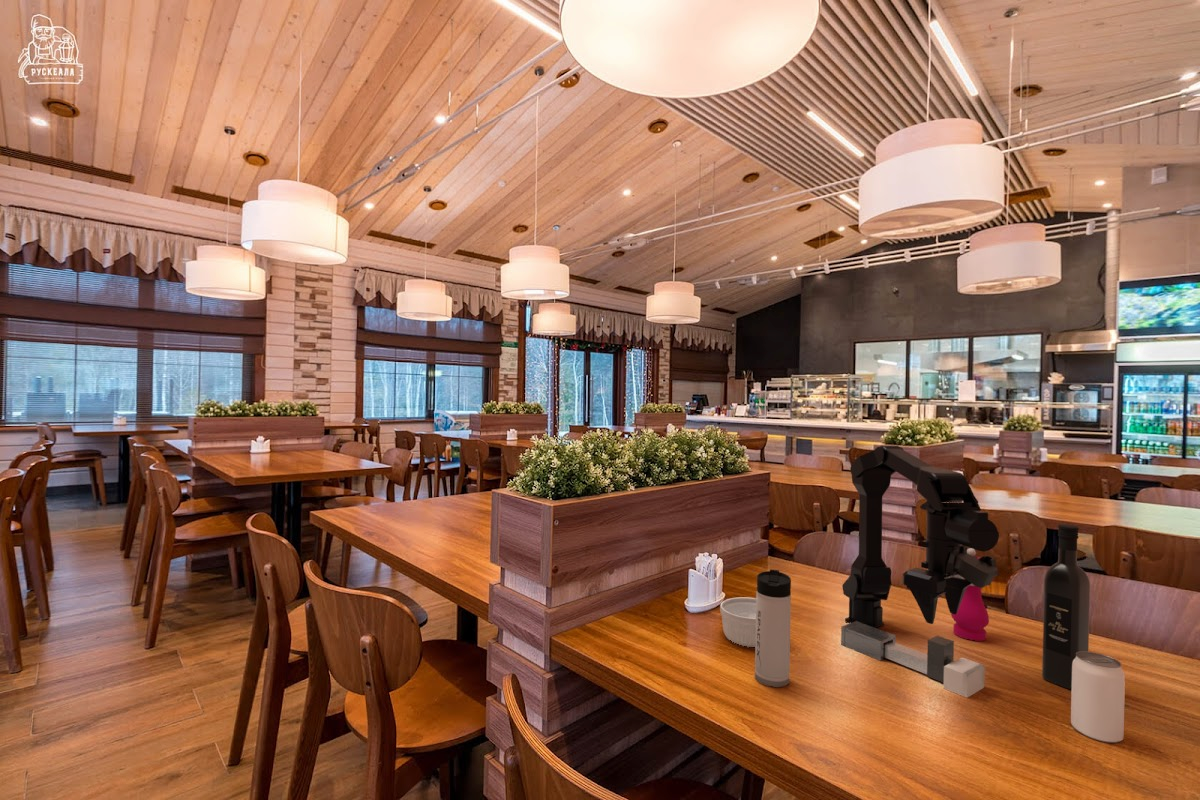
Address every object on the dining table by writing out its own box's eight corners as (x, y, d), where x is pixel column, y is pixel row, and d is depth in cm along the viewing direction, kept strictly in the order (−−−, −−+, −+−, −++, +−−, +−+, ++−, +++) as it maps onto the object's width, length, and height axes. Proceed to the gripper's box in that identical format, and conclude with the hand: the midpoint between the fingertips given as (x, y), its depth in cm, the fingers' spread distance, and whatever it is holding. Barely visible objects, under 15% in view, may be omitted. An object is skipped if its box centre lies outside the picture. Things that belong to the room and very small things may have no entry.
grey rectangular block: (943, 688, 106) (943, 666, 106) (961, 678, 110) (961, 657, 110) (966, 697, 103) (967, 675, 103) (984, 687, 107) (984, 665, 107)
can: (1060, 721, 96) (1061, 650, 96) (1095, 720, 96) (1097, 649, 96) (1097, 745, 89) (1098, 668, 89) (1135, 743, 90) (1136, 667, 90)
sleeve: (841, 644, 124) (841, 626, 124) (855, 638, 127) (856, 621, 127) (880, 660, 117) (880, 641, 117) (895, 654, 120) (895, 635, 120)
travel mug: (789, 674, 111) (791, 571, 110) (789, 690, 104) (791, 581, 104) (756, 668, 113) (758, 567, 112) (753, 684, 106) (755, 577, 106)
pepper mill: (977, 630, 133) (979, 544, 133) (995, 643, 126) (997, 553, 126) (944, 628, 134) (946, 543, 134) (961, 641, 127) (963, 551, 127)
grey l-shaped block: (880, 657, 118) (881, 623, 118) (890, 652, 120) (891, 619, 120) (963, 690, 105) (964, 652, 105) (973, 685, 107) (973, 647, 107)
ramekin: (714, 644, 123) (715, 612, 123) (725, 622, 136) (725, 593, 136) (778, 656, 118) (779, 622, 118) (783, 632, 131) (783, 601, 131)
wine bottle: (1074, 692, 105) (1078, 530, 105) (1039, 678, 110) (1043, 524, 110) (1090, 685, 108) (1093, 527, 108) (1054, 672, 113) (1058, 521, 113)
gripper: (966, 554, 98) (964, 645, 98) (1012, 540, 108) (1010, 622, 108) (901, 540, 107) (900, 623, 107) (949, 528, 117) (948, 604, 117)
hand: (941, 618), depth 110 cm, fingers open, 9 cm apart
